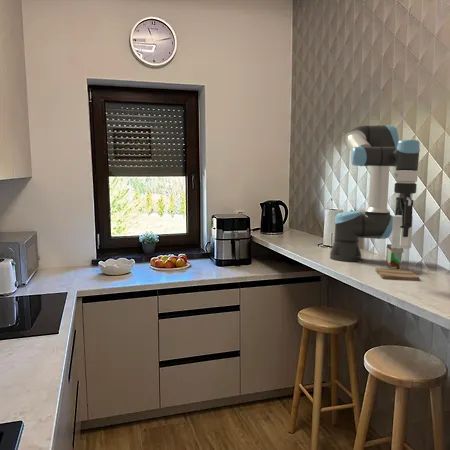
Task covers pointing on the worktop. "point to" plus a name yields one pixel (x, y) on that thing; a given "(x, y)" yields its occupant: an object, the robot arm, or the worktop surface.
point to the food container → (393, 257)
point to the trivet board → (396, 274)
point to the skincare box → (399, 233)
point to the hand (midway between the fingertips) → (401, 243)
